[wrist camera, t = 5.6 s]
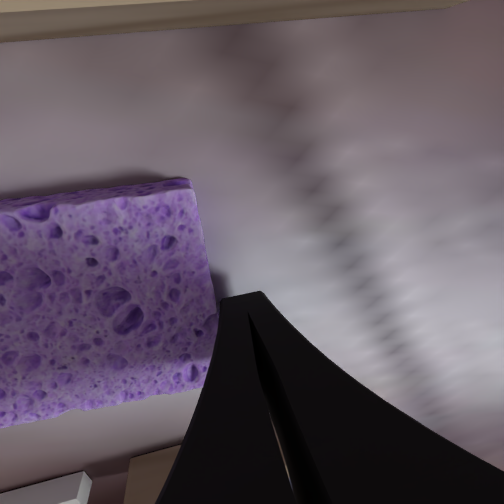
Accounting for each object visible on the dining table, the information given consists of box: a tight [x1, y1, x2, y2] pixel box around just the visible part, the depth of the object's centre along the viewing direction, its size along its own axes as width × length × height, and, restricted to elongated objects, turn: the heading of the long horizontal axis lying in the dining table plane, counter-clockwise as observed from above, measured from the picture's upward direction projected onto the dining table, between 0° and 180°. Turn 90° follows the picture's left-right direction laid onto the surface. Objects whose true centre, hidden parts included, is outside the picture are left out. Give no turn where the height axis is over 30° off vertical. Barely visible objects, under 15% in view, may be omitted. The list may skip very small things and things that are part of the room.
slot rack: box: [0, 0, 469, 504], centre depth 9 cm, size 18×12×2 cm
